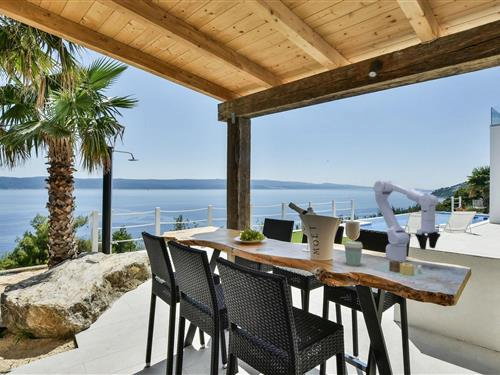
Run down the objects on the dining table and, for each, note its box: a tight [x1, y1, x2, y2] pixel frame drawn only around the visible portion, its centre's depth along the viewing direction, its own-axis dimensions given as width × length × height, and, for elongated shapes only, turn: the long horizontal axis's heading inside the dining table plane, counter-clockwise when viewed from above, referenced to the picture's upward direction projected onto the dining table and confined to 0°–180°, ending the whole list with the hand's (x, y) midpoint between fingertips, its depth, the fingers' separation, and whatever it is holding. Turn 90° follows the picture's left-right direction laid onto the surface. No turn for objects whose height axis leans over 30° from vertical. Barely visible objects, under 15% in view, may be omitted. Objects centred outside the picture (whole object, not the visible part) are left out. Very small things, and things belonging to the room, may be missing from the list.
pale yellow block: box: [400, 262, 415, 276], centre depth 130 cm, size 6×5×4 cm
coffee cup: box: [343, 240, 364, 267], centre depth 146 cm, size 8×8×12 cm
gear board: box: [368, 263, 437, 281], centre depth 135 cm, size 22×16×5 cm
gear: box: [388, 260, 404, 272], centre depth 135 cm, size 6×5×4 cm
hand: (427, 248), depth 144 cm, fingers open, 7 cm apart
